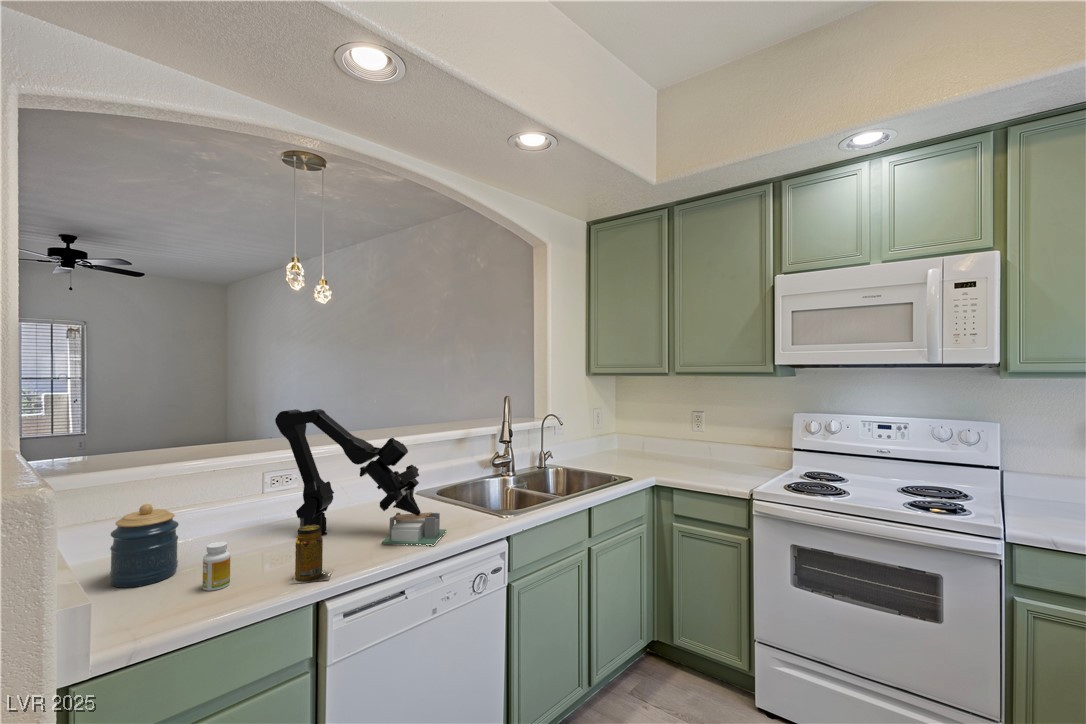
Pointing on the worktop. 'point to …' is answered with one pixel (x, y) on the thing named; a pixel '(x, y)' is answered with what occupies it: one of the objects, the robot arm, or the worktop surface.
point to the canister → (144, 548)
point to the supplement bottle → (216, 567)
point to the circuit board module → (415, 531)
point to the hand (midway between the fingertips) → (419, 514)
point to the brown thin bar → (411, 516)
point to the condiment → (309, 555)
